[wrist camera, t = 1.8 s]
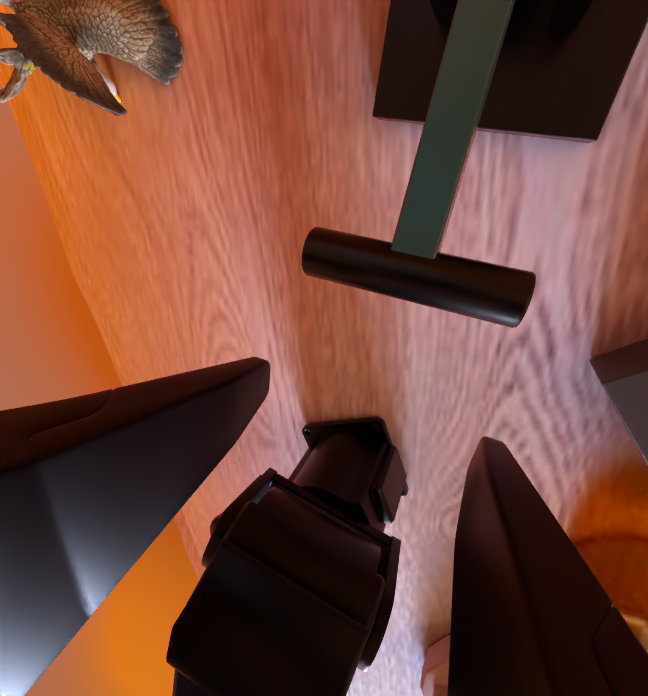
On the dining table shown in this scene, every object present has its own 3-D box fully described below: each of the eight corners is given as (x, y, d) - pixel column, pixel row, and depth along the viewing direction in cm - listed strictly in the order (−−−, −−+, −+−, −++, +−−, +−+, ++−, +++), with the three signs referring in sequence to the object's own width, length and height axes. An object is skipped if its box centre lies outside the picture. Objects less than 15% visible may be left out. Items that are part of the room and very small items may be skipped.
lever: (508, 325, 10) (525, 332, 7) (320, 277, 11) (287, 271, 9) (713, -258, 7) (834, -515, 5) (436, -214, 9) (431, -394, 6)
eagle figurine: (71, 150, 24) (154, 157, 20) (-83, 52, 18) (-9, 31, 13) (113, 45, 24) (204, 29, 20) (-25, -90, 18) (66, -155, 14)
